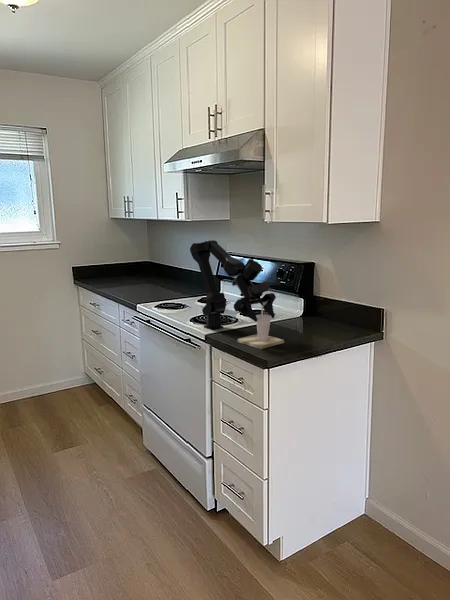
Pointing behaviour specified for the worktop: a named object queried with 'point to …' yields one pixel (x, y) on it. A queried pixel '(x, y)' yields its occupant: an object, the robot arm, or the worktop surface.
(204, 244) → the robot arm
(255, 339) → the cutting board
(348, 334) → the worktop surface
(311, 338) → the worktop surface
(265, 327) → the smoothie
